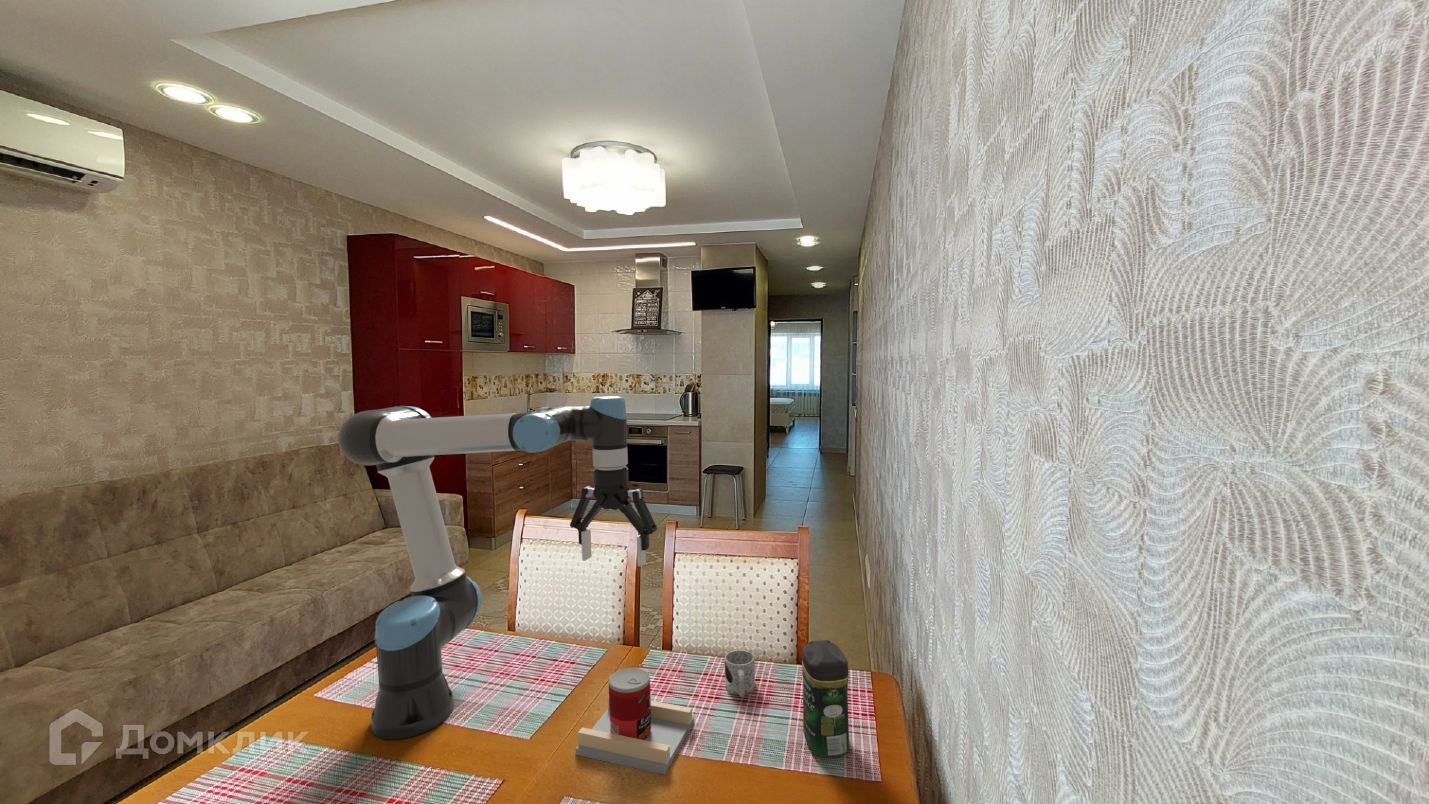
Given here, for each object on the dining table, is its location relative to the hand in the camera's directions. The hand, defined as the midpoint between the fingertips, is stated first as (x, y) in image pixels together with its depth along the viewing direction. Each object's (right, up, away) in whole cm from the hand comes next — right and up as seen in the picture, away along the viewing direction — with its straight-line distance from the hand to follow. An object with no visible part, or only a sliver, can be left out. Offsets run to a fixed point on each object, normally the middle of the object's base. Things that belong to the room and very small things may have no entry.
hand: (614, 561), depth 126 cm
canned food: (+6, -29, -16) cm, 34 cm away
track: (+7, -30, -16) cm, 35 cm away
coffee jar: (+43, -29, -18) cm, 55 cm away
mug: (+28, -29, -1) cm, 40 cm away
